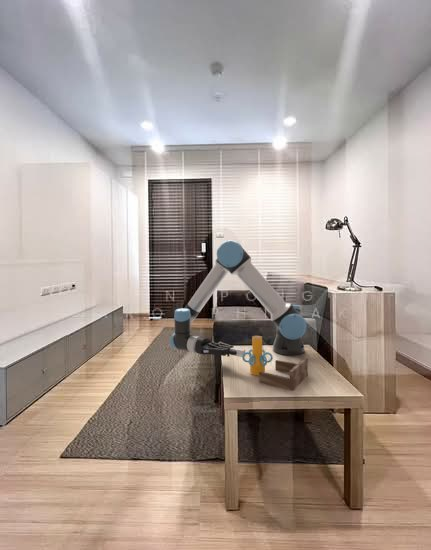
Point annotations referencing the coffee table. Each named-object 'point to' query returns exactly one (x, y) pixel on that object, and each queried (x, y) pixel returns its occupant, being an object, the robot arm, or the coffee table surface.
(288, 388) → the pocket
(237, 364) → the coffee table surface
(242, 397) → the coffee table surface
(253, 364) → the cylinder
